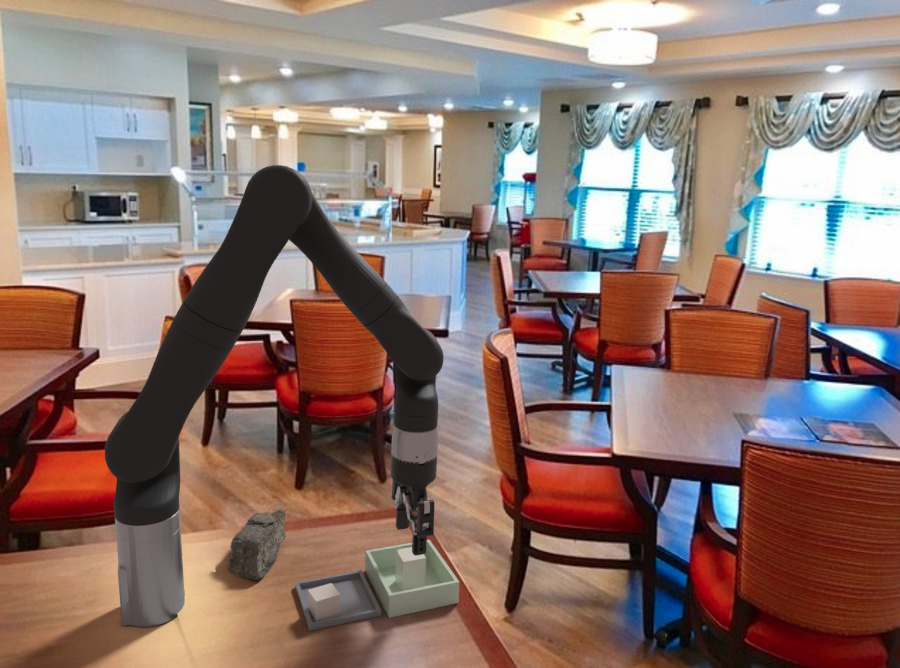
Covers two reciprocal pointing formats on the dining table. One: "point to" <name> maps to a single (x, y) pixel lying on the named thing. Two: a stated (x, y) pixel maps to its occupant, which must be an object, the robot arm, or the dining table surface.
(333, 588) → the smooth off-white cube
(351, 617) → the slate tray
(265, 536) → the rock
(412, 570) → the off-white rectangular block
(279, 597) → the dining table surface
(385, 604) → the green bin
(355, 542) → the dining table surface
